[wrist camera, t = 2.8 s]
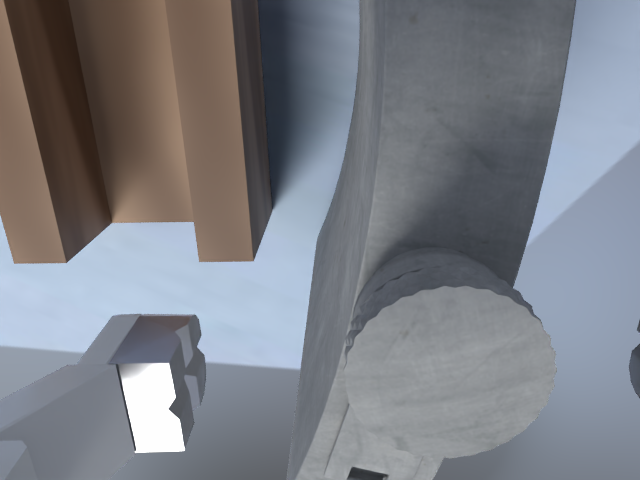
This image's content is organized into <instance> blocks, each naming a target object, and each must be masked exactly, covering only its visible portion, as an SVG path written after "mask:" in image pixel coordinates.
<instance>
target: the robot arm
mask: <svg viewBox="0 0 640 480" xmlns="http://www.w3.org/2000/svg"><path fill="white" fill-rule="evenodd" d="M637 331H638V333H639V334H640V321H639V325H638V328H637ZM200 337H201V330H200V324H199V319H198V318H197V316H196V315H176V314H144V315H142V314H121V315H115V316H112V317H111V319H110V320H109V321H108V323H107V324H106V325H105V327H104V328H103V329H102V331H101V332H100V333H99V335H98V336H97V337H96V339H95V340H94V341H93V343H92V344H91V345H90V347H89V348H88V349H87V351H86V352H85V353H84V355H83V356H82V357H81V359H80V360H79V361H78V363H77V364H76V365H66V366H64V367H62V368H60V369H59V370H57V371H55V372H53V373H51V374H49V375H47V376H45V377H43V378H41V379H39V380H38V381H36V382H34V383H32V384H30V385H28V386H26V387H24V388H22V389H20V390H19V391H16V392H14V393H13V394H10V395H9V396H7V397H5V398H3V399H1V400H0V480H109V479H110V478H111V477H112V476H113V475H114V474H115V473H116V472H117V471H118V470H119V469H121V468H122V467H123V466H124V465H125V464H126V463H127V462H128V461H129V460H130V459H132V458H133V457H134V456H135V452H157V451H184V450H185V448H186V445H187V442H188V439H189V436H190V433H191V431H192V428H193V425H194V418H193V410H195V409H196V408H197V407H199V406H200V405H201V402H202V399H203V395H204V390H205V382H206V365H205V357H204V354H203V353H202V352H201V351H200V350H199V349H198V348H197V345H198V342H199V340H200ZM629 371H630V378H631V383H632V385H633V388H634V390H635V392H636V394H637V395H638V396H639V398H640V344H639V345H638V346H637V347H636V348H635V349H634V350H633V351H632V354H631V359H630V364H629Z"/></svg>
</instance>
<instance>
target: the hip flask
mask: <svg viewBox="0 0 640 480" xmlns="http://www.w3.org/2000/svg"><path fill="white" fill-rule="evenodd" d="M575 5H576V0H360V1H359V9H360V39H359V60H358V73H357V83H356V93H355V100H354V107H353V113H352V119H351V125H350V130H349V135H348V141H347V146H346V151H345V155H344V160H343V164H342V169H341V172H340V176H339V179H338V183H337V187H336V190H335V193H334V196H333V199H332V203H331V206H330V208H329V211H328V214H327V216H326V219H325V222H324V224H323V226H322V229H321V231H320V233H319V236H318V239H317V244H316V252H315V260H314V267H313V275H312V283H311V291H310V299H309V307H308V315H307V323H306V331H305V339H304V346H303V354H302V362H301V370H300V378H299V386H298V395H297V403H296V410H295V418H294V426H293V433H292V441H291V450H290V457H289V465H288V473H287V480H432V479H433V478H434V476H435V474H436V473H437V471H438V469H439V467H440V465H441V463H442V461H443V459H444V457H446V458H456V457H460V456H472V455H475V454H477V453H479V452H482V451H489V450H492V449H493V448H495V447H497V446H498V445H501V444H503V443H507V442H509V441H510V440H511V439H512V438H513V437H514V436H515V435H517V434H519V433H522V432H523V431H524V430H525V429H526V428H527V426H528V425H529V424H530V423H531V422H533V421H534V420H536V419H537V418H538V415H539V413H540V410H541V409H542V408H543V407H545V406H546V404H547V403H548V398H549V394H550V393H551V391H552V390H553V388H554V377H555V374H556V372H557V368H556V364H555V355H556V353H555V351H554V349H553V348H552V346H551V338H550V336H549V334H547V333H546V331H545V330H544V329H543V326H542V322H541V320H540V319H539V318H538V317H537V316H536V315H534V313H533V310H532V306H531V305H530V304H529V303H527V302H526V301H524V299H523V297H522V296H521V293H520V292H519V291H517V290H515V289H513V286H514V283H515V280H516V277H517V274H518V270H519V267H520V264H521V260H522V257H523V254H524V250H525V247H526V243H527V240H528V237H529V233H530V230H531V227H532V223H533V219H534V215H535V211H536V207H537V203H538V199H539V195H540V191H541V187H542V183H543V179H544V175H545V171H546V167H547V162H548V158H549V153H550V149H551V144H552V139H553V135H554V130H555V125H556V121H557V116H558V111H559V107H560V101H561V95H562V89H563V83H564V77H565V71H566V65H567V59H568V53H569V47H570V41H571V35H572V27H573V20H574V13H575Z"/></svg>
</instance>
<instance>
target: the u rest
mask: <svg viewBox="0 0 640 480" xmlns="http://www.w3.org/2000/svg"><path fill="white" fill-rule="evenodd" d="M271 213H272V199H271V185H270V171H269V156H268V142H267V127H266V113H265V99H264V84H263V70H262V56H261V41H260V27H259V13H258V0H0V215H1V218H2V222H3V225H4V229H5V233H6V236H7V240H8V243H9V247H10V250H11V254H12V257H13V261H14V264H16V263H67V262H68V261H69V260H70V259H72V258H73V257H74V256H75V255H76V254H77V253H78V252H79V251H81V250H82V249H83V248H84V247H85V246H86V245H87V244H89V243H90V242H91V241H92V240H93V239H94V238H95V237H96V236H98V235H99V234H100V233H101V232H102V231H103V230H104V229H105V228H107V227H108V226H109V225H110V224H111V223H134V222H194V226H195V233H196V241H197V248H198V256H199V262H232V261H254V258H255V256H256V253H257V250H258V248H259V245H260V243H261V240H262V237H263V235H264V232H265V229H266V227H267V224H268V221H269V219H270V216H271Z"/></svg>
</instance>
